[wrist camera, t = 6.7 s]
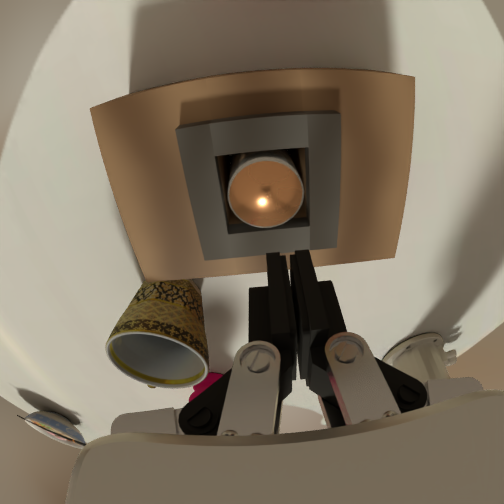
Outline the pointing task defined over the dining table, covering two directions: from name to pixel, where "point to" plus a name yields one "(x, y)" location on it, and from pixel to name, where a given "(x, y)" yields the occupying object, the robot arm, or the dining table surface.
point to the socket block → (259, 139)
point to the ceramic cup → (162, 336)
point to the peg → (264, 187)
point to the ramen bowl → (56, 428)
